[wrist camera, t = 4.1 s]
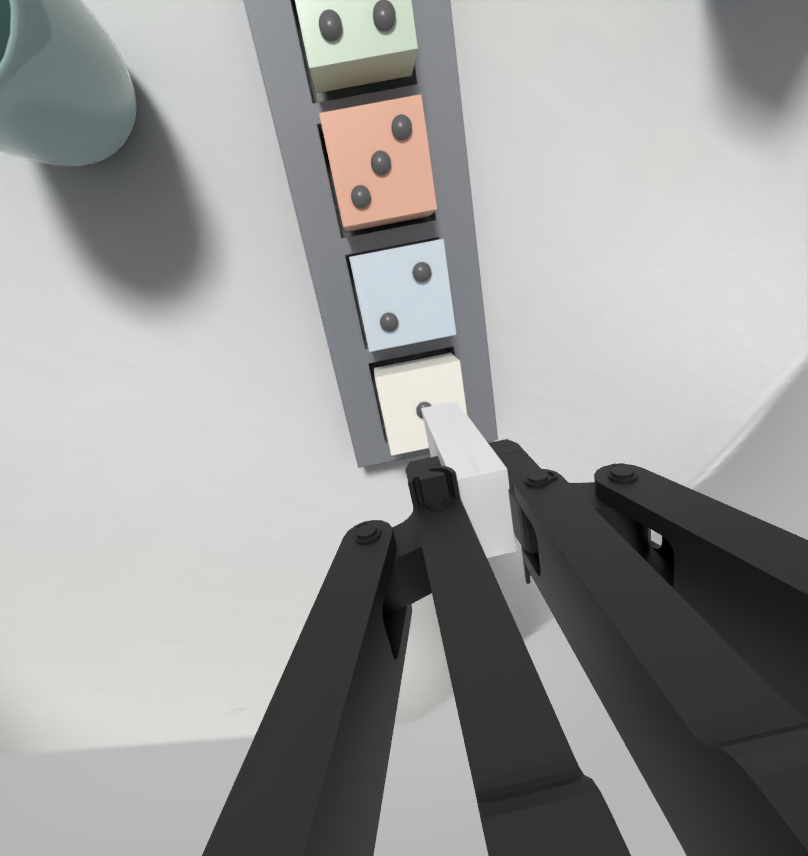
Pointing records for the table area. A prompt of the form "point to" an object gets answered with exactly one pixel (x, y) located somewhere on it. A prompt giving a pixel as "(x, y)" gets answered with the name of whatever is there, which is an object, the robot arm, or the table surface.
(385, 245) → the board
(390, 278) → the tile
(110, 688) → the table surface
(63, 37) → the cup
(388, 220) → the tile
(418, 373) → the tile
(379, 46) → the tile
